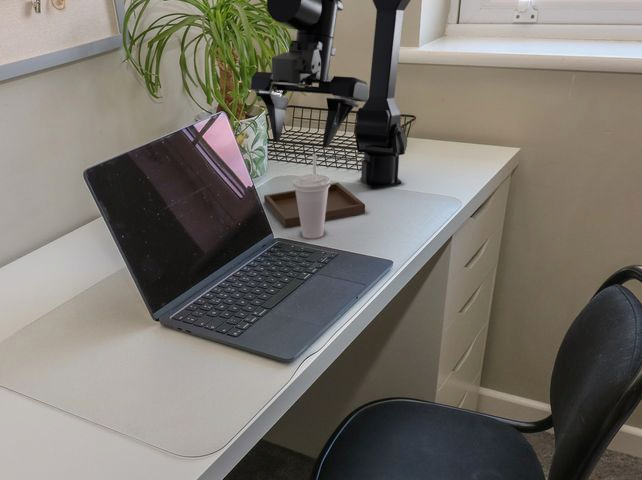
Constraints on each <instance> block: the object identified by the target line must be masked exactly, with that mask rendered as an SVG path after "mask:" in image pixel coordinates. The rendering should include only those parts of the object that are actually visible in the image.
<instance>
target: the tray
mask: <svg viewBox="0 0 642 480" xmlns="http://www.w3.org/2000/svg"><path fill="white" fill-rule="evenodd" d="M263 198H264V199H263V201H264V206H266V207H267V209H269V211H270V212H271V213H272V214H273V215H274V216H275V218H276V219H277V220H278V221H279V222H280V223H281V224H282V226H283V227H284V228H285V229H288V228H292V227H298V226H301V223H300V217H299V211H298V205H297V198H296V192H295V189H293V190H287V191H281V192H276V193H275V192H274V193H270V194H269V193H268V194H264V195H263ZM364 214H366V204H365V203H364V202H362V201H361V200H360V199H359V198H358V197H357V196H355V194H353V193H352V192H350V191H349V190H348V189H347V188H345V186H343V185H342V184H341V183H340V182H334V183H330V187H329V188H328V196H327V204H326V213H325V222H326V221H330V220H337V219H341V218H347V217H354V216H359V215H364Z"/></svg>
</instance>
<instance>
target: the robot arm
mask: <svg viewBox="0 0 642 480" xmlns="http://www.w3.org/2000/svg"><path fill="white" fill-rule="evenodd" d="M372 3H373V6H374V7H375V9H376V11H375V12H376V14H375V15H376V16H375V24H374V25H375V26H374V36H373V46H372V56H371V57H372V58H371V69H370V77H369V78H370V79H369V85H368V82H367V81H365V80H362V79H360V78H358V77H357V78H356V77H354V76H339V75H334V76H333V77H332V76H330V75H329V73H330V72H329V71H330V67H331V66H330V65H331V58H332V57H336V53H337V52H336V51H337V48H336V47H333V44H334V36H335V29H336V25H337V24H336V23H337V16H338V11H341V12H342V11H343V10H344V3H343V2H342V0H266V8H267V12H268V14H269V16H270V17H271V19H272V20H274V21H275V22H277V23H279V24H282V25H284V26H286V27H288V28H291V29H292V30H296V38H295V40H291V41H290V43H289V48H288V49H289V50H288V51H287V52H282V53H280V54H277V55H274V56H272V57H271V71H255V72H254V74H253V75H252V76H251V78H250V83H249V90H250V91H253V92H255V95H256V97H258V98H261V100H262V102H263V103H264V104H265V105H264V106H265V107H266V110H267V115H268V119H269V123H270V129H271V134H272V137H273V142H275V143H279V142H280V140H281V137H282V134H283V129H284V124H285V119H286V114H287V108H288V103H289V98H288V97H284V96H285V95H286V94H287V93H288V92H293V93H306V94H320V95H332V96H333V98H332V97H326V105H327V106H326V107H327V115H326V121H325V126H324V132H323V138H322V147H323V149H324V148H326V149H328V148H329V147H330V145H331V143H332V142H333V140H334V138H335V136H336V134H337V133H338V131H339V130H340V128H341V126H342V124H343V123H344V122H345V120H346V119H347V117H348V116H349V115H350V113H351V112H352V111H353V109H354V108H358V110H357V112H356V123H355V126H354V138H355V144H356V150H357V151H356V152H357V153H358V154H361V153H363V159H362V160H361V172H360V173H361V177H359V180H360V182H362V183H364V184H365V185H367V187H369V188H370V189H371V190H372V189H373V190H375V189H381V188H385V187H386V188H387V187H391V186H397V185H401V184H402V180H400V179H399V164H400V156H403V155H405V154H406V151H407V150H406V149H407V147H408V137H407V135H406V133H405V131H404V129H403V127H402V125H401V123H402V122H401V119H402V114H401V111H400V108H399V106H398V104H397V102H396V100H395V94H396V85H397V76H398V74H397V73H398V68H399V59H400V58H399V57H400V48H401V38H402V31H403V30H402V29H403V23H404V22H403V21H404V12H405V10H406V8H407V7H408V5H409V4H410V3H411V0H372ZM313 84H318V86H316V85H315V86H313ZM358 102H362V103H364V104H363V106H362V107H359V106H360V104H359V103H358Z"/></svg>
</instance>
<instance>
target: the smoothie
mask: <svg viewBox="0 0 642 480" xmlns="http://www.w3.org/2000/svg"><path fill="white" fill-rule="evenodd" d="M330 184H331V178H330V177H329V176H328V175H325V174H319V173H318V174H317V153H312V174H311V173H310V174H303V175H300V176H297V177H295V178H293V180H292V188H293V190H295V192H296V198H297V205H298V211H299V217H300V223H301V225H300V229H301V236H302V237H303V238H305V239H318V238H321V237H322V236H323V235H324V231H325V222H326V221H325V213H326V204H327V196H328V188H329V187H330Z"/></svg>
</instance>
